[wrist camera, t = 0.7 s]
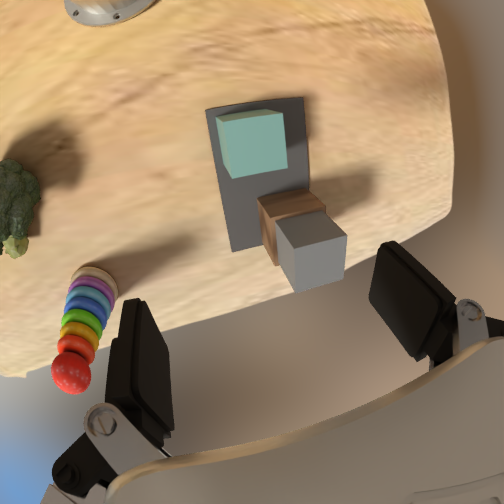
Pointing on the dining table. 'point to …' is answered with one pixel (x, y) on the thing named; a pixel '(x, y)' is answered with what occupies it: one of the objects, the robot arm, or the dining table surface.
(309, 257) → the tower mid
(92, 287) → the stacking toy
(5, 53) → the dining table surface
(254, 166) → the teal cube
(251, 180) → the mat
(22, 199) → the vegetable
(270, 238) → the tower base
